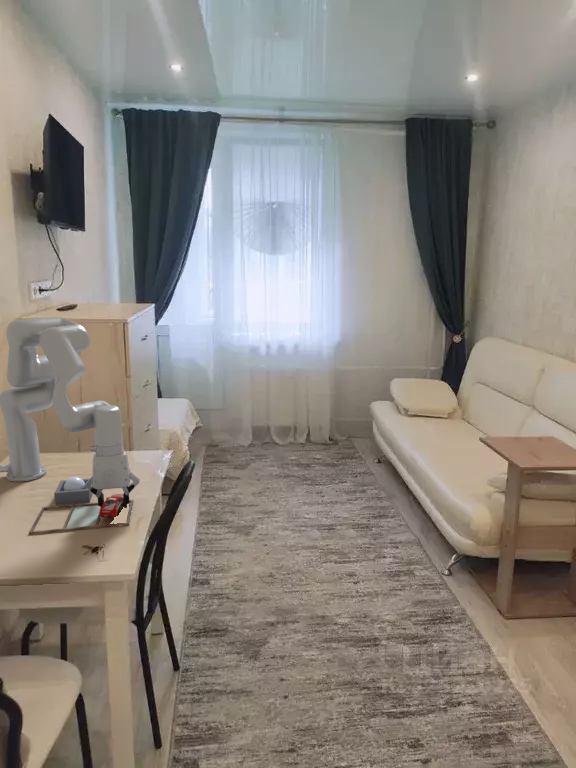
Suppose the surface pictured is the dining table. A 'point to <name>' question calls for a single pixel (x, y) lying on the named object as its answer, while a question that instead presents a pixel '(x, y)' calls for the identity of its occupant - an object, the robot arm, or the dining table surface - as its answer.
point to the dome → (74, 484)
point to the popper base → (72, 495)
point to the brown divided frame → (81, 518)
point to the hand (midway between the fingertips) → (114, 506)
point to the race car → (112, 506)
